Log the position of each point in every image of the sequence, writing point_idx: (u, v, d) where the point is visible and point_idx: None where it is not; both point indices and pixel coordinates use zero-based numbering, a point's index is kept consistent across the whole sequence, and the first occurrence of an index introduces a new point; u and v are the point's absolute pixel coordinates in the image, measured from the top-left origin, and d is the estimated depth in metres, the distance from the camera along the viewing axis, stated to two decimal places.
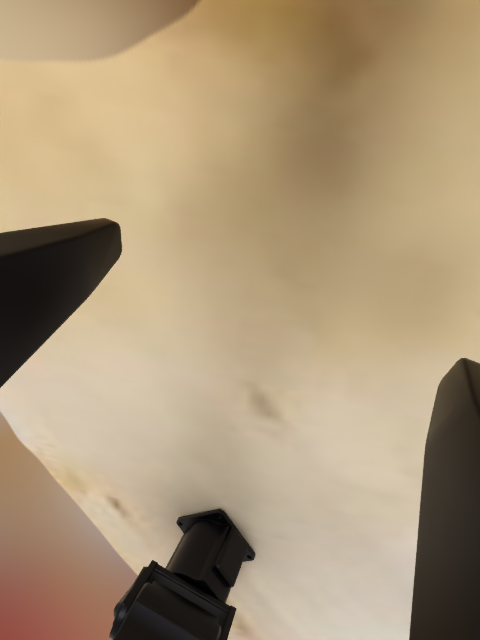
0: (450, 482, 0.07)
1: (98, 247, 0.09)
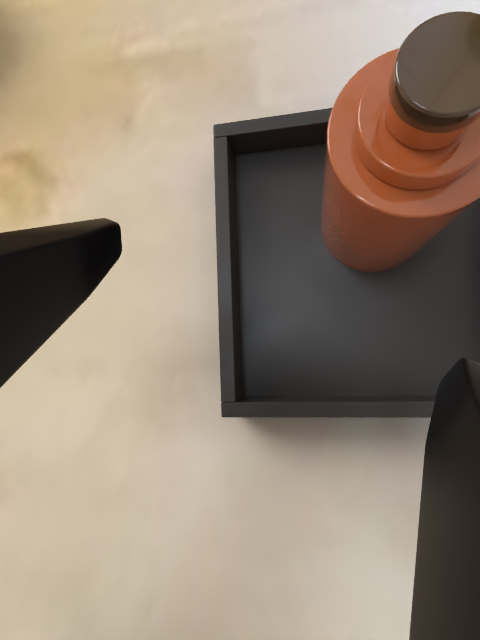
0: (450, 482, 0.07)
1: (98, 247, 0.09)
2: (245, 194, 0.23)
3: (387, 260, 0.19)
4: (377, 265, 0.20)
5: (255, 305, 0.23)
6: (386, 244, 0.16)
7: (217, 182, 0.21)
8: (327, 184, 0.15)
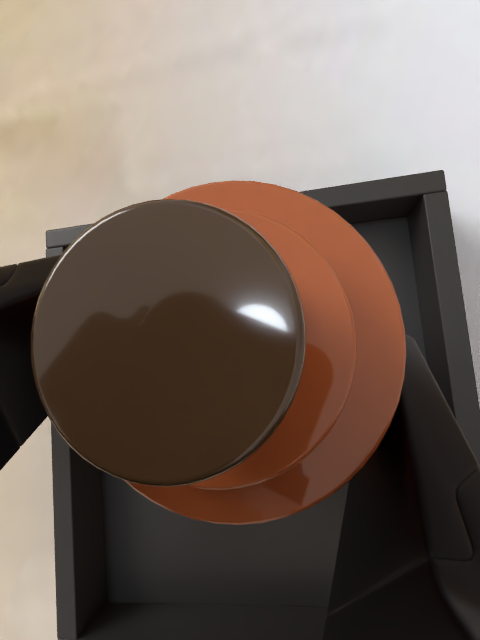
0: None
1: None
2: None
3: None
4: None
5: None
6: None
7: None
8: None
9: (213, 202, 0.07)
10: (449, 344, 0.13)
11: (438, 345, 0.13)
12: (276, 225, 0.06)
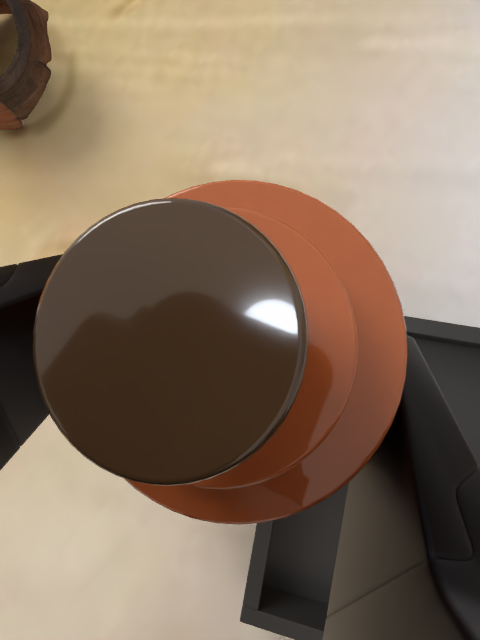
0: None
1: None
2: None
3: None
4: None
5: None
6: None
7: None
8: None
9: (214, 202, 0.07)
10: None
11: None
12: (277, 224, 0.06)
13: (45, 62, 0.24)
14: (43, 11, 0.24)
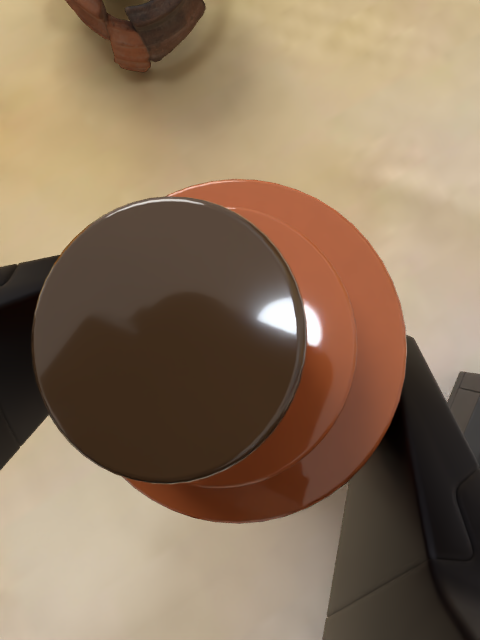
0: None
1: None
2: None
3: None
4: None
5: None
6: None
7: None
8: None
9: (213, 201, 0.07)
10: None
11: None
12: (276, 223, 0.05)
13: None
14: None
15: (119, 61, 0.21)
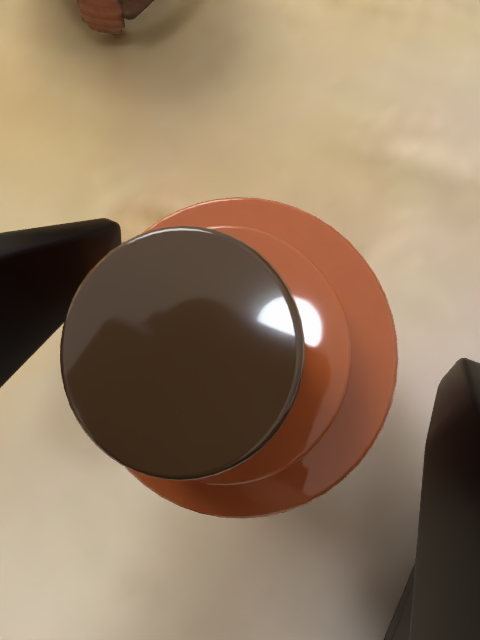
0: (450, 482, 0.07)
1: (98, 247, 0.09)
2: None
3: None
4: None
5: None
6: None
7: None
8: None
9: (218, 217, 0.07)
10: None
11: None
12: (278, 242, 0.06)
13: None
14: None
15: (88, 19, 0.18)
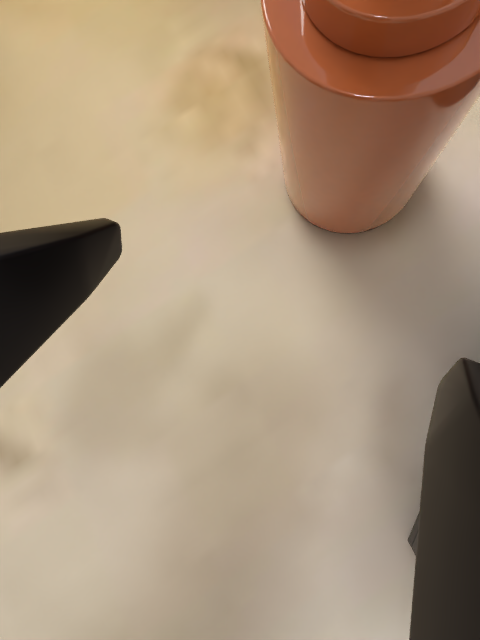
0: (450, 482, 0.07)
1: (98, 247, 0.09)
2: None
3: (368, 208, 0.14)
4: (357, 219, 0.15)
5: None
6: (363, 174, 0.11)
7: None
8: (274, 88, 0.11)
9: None
10: None
11: None
12: None
13: None
14: None
15: None
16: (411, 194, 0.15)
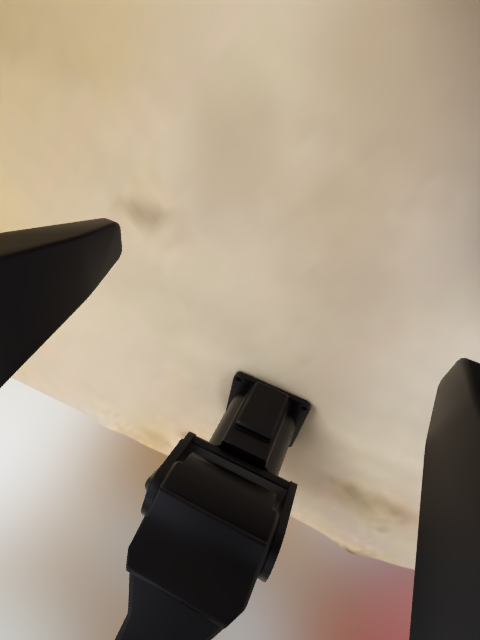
0: (450, 482, 0.07)
1: (98, 247, 0.09)
2: None
3: None
4: None
5: None
6: None
7: None
8: None
9: None
10: None
11: None
12: None
13: None
14: None
15: None
16: None
